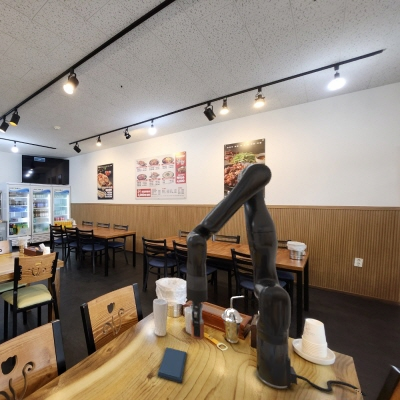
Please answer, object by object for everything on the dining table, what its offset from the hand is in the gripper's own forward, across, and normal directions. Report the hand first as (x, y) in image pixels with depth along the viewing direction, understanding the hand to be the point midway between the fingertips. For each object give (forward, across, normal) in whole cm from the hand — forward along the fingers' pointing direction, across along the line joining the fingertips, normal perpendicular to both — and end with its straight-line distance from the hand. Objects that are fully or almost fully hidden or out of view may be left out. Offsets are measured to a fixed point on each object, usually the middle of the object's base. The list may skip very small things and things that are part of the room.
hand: (197, 332), depth 85 cm
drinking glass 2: (+13, +17, +18) cm, 28 cm away
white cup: (+13, +25, +4) cm, 29 cm away
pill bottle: (+1, 0, 0) cm, 1 cm away
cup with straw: (+13, +24, -13) cm, 30 cm away
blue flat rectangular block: (+13, -2, +9) cm, 16 cm away
